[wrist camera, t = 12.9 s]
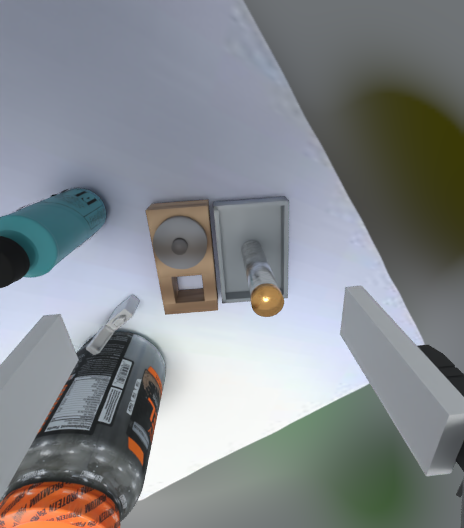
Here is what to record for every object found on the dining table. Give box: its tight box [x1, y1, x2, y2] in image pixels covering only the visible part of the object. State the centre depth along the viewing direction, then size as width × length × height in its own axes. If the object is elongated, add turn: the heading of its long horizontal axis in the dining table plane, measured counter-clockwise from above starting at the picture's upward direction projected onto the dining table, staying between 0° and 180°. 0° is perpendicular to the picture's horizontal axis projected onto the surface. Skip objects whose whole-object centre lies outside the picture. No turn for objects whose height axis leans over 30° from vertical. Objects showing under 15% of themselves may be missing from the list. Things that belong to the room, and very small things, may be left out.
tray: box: [213, 196, 289, 303], centre depth 44 cm, size 15×10×3 cm
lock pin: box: [241, 240, 284, 317], centre depth 38 cm, size 3×3×15 cm
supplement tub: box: [0, 332, 166, 528], centre depth 41 cm, size 16×16×26 cm
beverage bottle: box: [0, 187, 106, 288], centre depth 32 cm, size 6×7×20 cm
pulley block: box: [146, 199, 218, 315], centre depth 42 cm, size 16×8×7 cm, turn 4°
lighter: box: [86, 295, 140, 355], centre depth 45 cm, size 7×2×8 cm, turn 131°
